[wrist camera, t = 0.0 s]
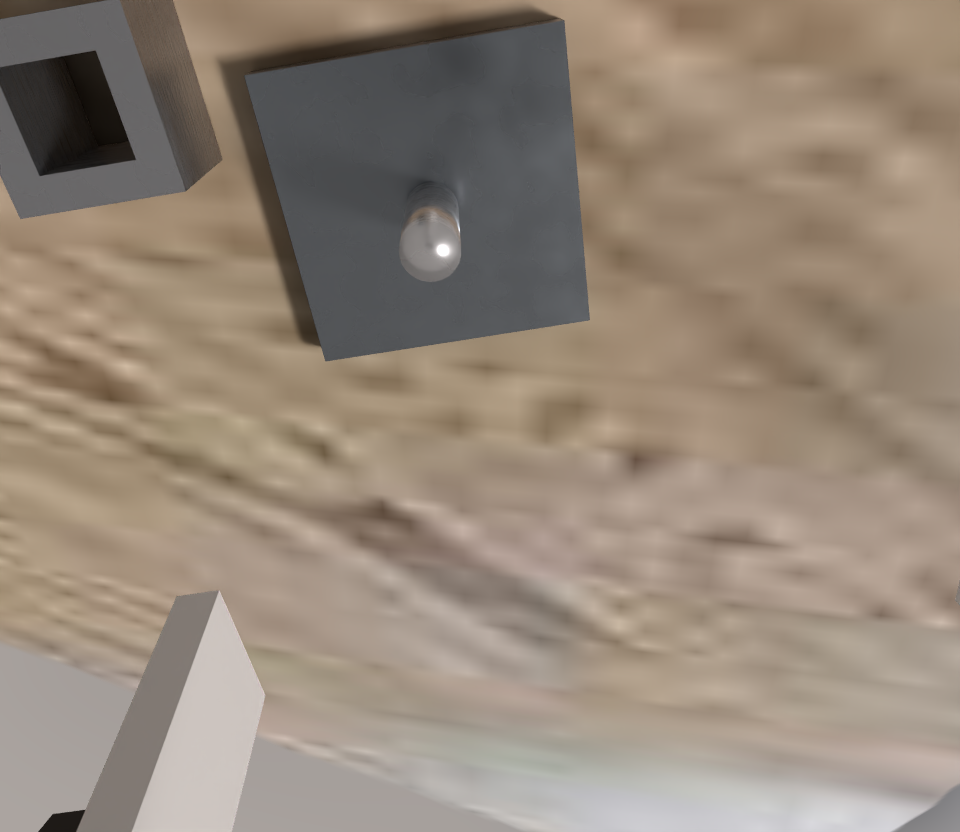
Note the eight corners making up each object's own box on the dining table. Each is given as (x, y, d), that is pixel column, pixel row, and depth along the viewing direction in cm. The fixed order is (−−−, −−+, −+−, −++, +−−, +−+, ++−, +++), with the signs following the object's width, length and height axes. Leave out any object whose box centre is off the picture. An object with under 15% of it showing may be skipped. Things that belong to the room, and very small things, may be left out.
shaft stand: (251, 71, 34) (203, 97, 28) (559, 18, 34) (589, 30, 27) (329, 349, 42) (306, 425, 35) (585, 309, 41) (613, 378, 34)
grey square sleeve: (13, 21, 33) (-67, 31, 28) (170, -7, 33) (119, -2, 28) (80, 183, 37) (20, 218, 31) (222, 159, 36) (185, 191, 31)
